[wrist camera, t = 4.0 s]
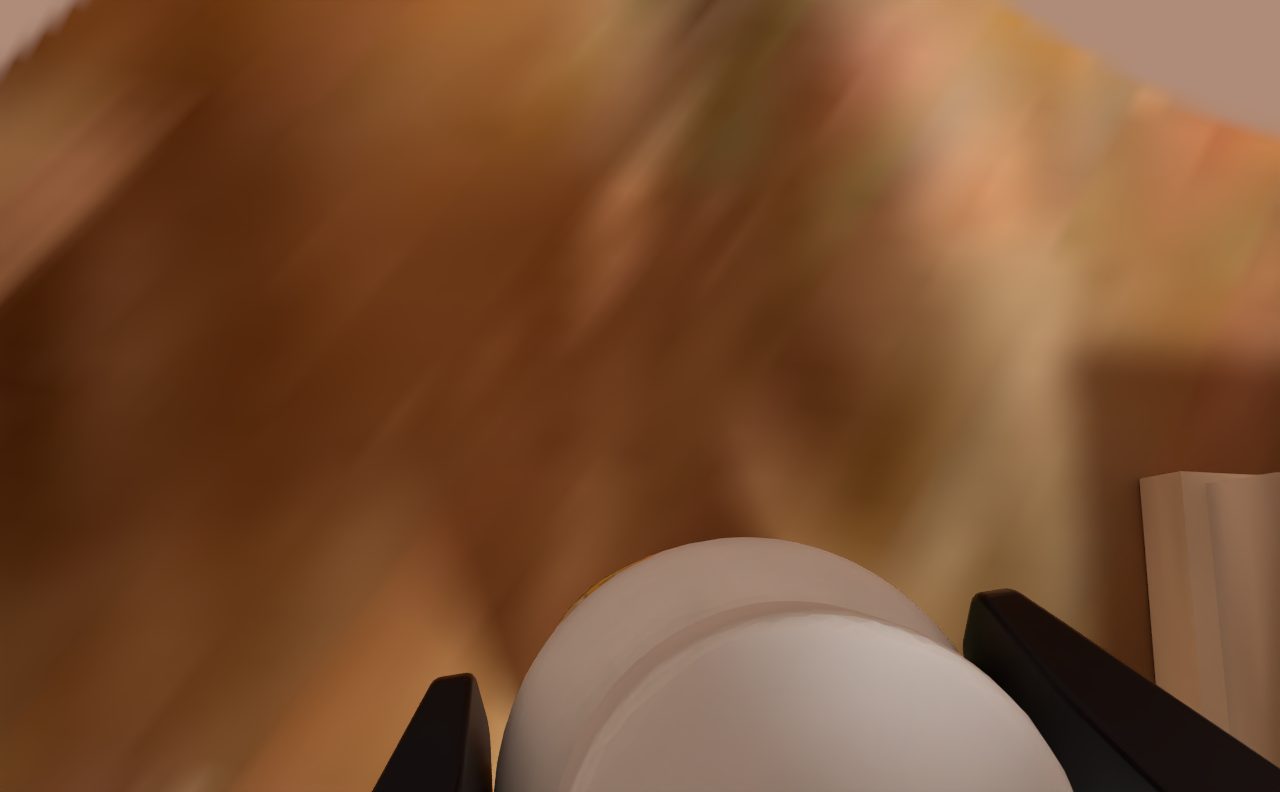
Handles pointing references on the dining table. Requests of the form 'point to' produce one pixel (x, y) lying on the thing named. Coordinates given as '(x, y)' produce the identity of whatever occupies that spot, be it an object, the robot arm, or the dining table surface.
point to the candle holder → (1217, 597)
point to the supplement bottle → (761, 686)
